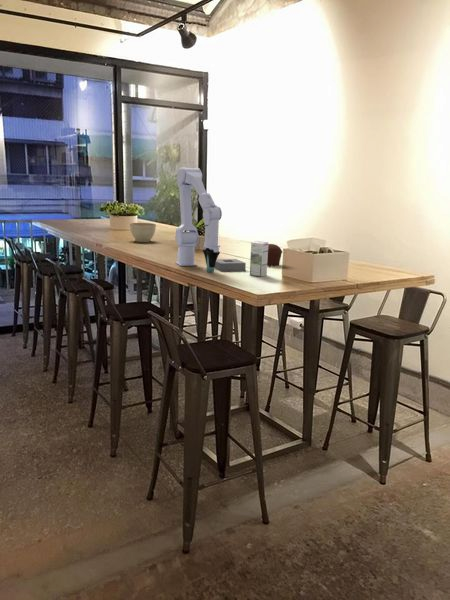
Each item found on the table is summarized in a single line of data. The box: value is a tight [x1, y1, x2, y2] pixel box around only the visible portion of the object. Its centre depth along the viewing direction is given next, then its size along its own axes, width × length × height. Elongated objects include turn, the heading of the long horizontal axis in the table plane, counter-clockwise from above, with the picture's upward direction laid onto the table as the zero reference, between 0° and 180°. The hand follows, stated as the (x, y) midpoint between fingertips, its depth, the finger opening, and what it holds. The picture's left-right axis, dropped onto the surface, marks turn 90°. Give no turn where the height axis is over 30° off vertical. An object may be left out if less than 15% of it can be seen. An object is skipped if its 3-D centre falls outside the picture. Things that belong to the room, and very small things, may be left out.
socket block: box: [214, 258, 246, 272], centre depth 238 cm, size 12×12×4 cm
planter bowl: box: [129, 222, 157, 243], centre depth 324 cm, size 16×16×11 cm
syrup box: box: [249, 240, 269, 278], centre depth 223 cm, size 6×6×14 cm
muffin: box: [267, 243, 283, 267], centre depth 253 cm, size 12×11×10 cm
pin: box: [206, 255, 215, 273], centre depth 227 cm, size 3×3×8 cm
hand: (210, 266), depth 227 cm, fingers closed on pin, 3 cm apart
